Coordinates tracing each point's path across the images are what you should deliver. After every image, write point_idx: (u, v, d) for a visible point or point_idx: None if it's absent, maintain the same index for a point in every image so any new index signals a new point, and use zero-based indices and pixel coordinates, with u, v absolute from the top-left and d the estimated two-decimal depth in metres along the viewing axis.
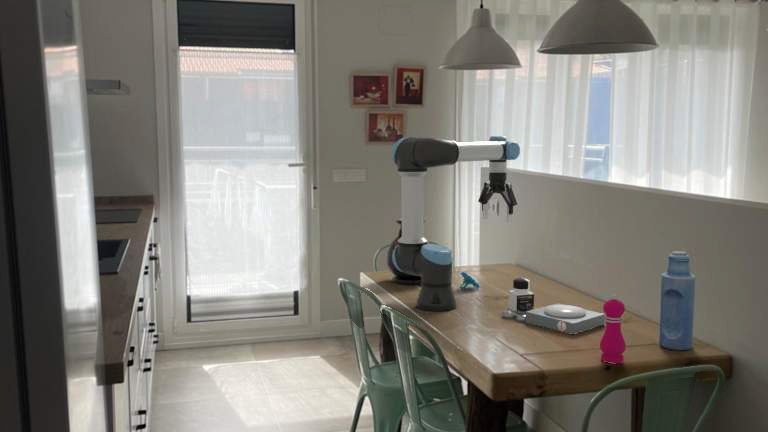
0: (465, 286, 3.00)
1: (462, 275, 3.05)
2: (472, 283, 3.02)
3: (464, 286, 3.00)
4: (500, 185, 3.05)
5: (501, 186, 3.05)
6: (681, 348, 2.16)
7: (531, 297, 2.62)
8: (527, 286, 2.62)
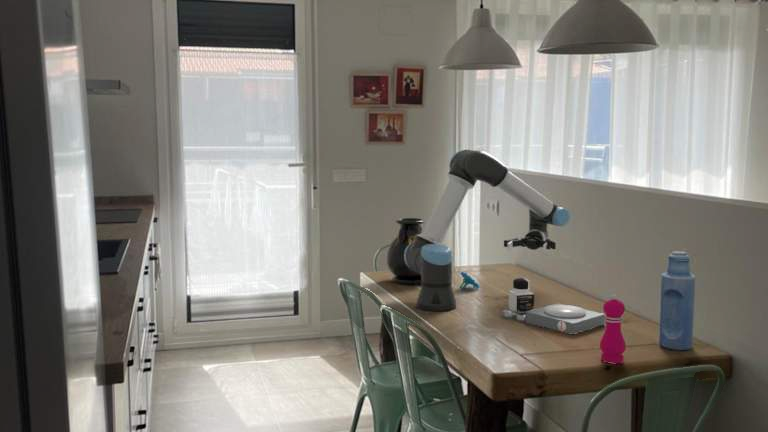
0: (464, 286, 3.00)
1: (462, 275, 3.05)
2: (472, 283, 3.02)
3: (463, 286, 3.00)
4: None
5: None
6: (681, 348, 2.16)
7: (531, 297, 2.62)
8: (527, 286, 2.62)
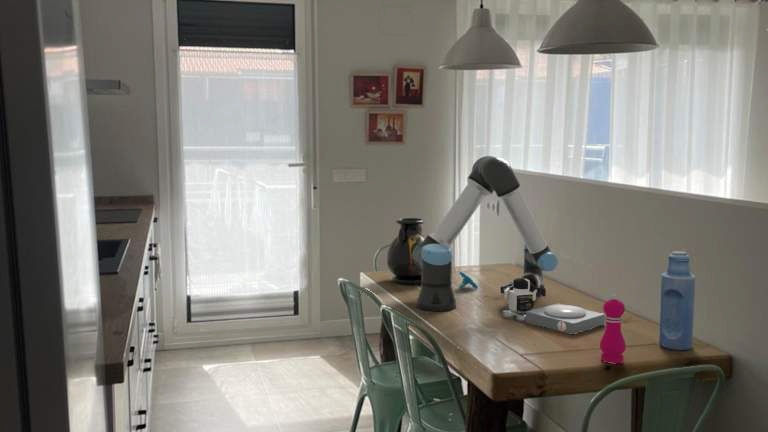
0: (463, 286, 3.00)
1: (461, 275, 3.05)
2: (470, 283, 3.01)
3: (462, 286, 3.00)
4: (533, 284, 2.75)
5: (534, 284, 2.75)
6: (681, 348, 2.16)
7: (531, 297, 2.62)
8: (527, 286, 2.62)
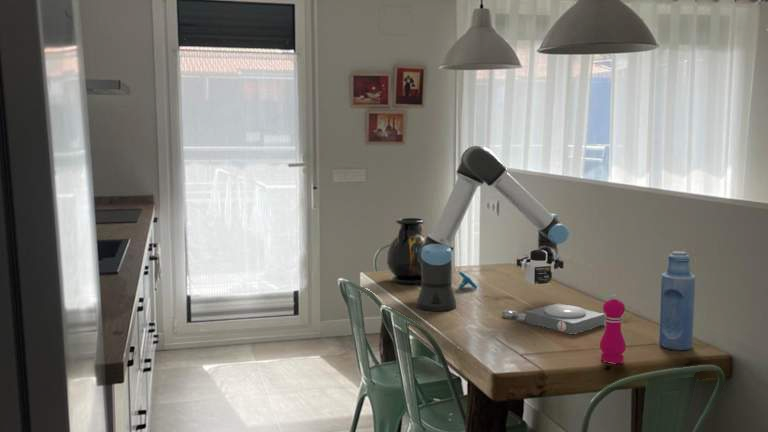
0: (462, 286, 3.01)
1: None
2: (470, 283, 3.01)
3: (461, 286, 3.01)
4: (549, 256, 2.69)
5: (550, 257, 2.68)
6: (681, 348, 2.16)
7: (549, 268, 2.56)
8: (545, 257, 2.56)
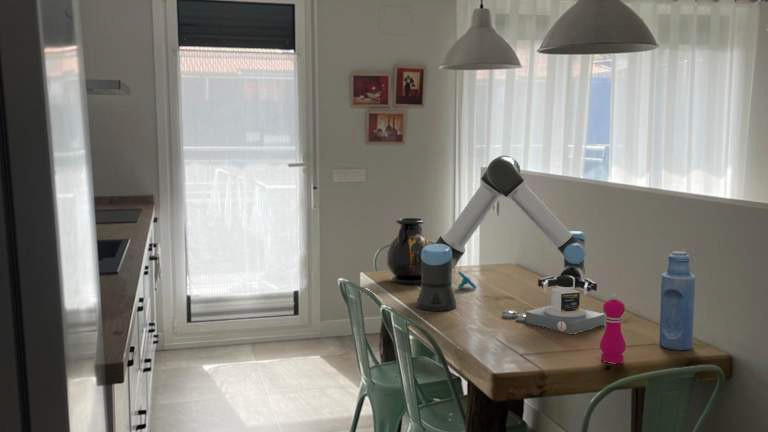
0: (461, 286, 3.01)
1: (460, 275, 3.05)
2: (469, 283, 3.01)
3: (460, 286, 3.01)
4: None
5: (578, 278, 2.55)
6: (681, 348, 2.16)
7: (577, 295, 2.43)
8: (572, 284, 2.43)
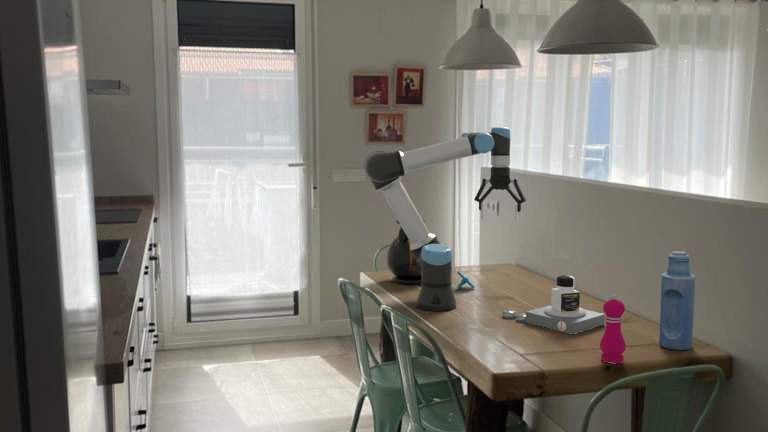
0: (460, 286, 3.01)
1: None
2: None
3: (459, 286, 3.01)
4: (506, 181, 2.79)
5: (507, 182, 2.79)
6: (681, 348, 2.16)
7: (577, 295, 2.43)
8: (572, 284, 2.43)
